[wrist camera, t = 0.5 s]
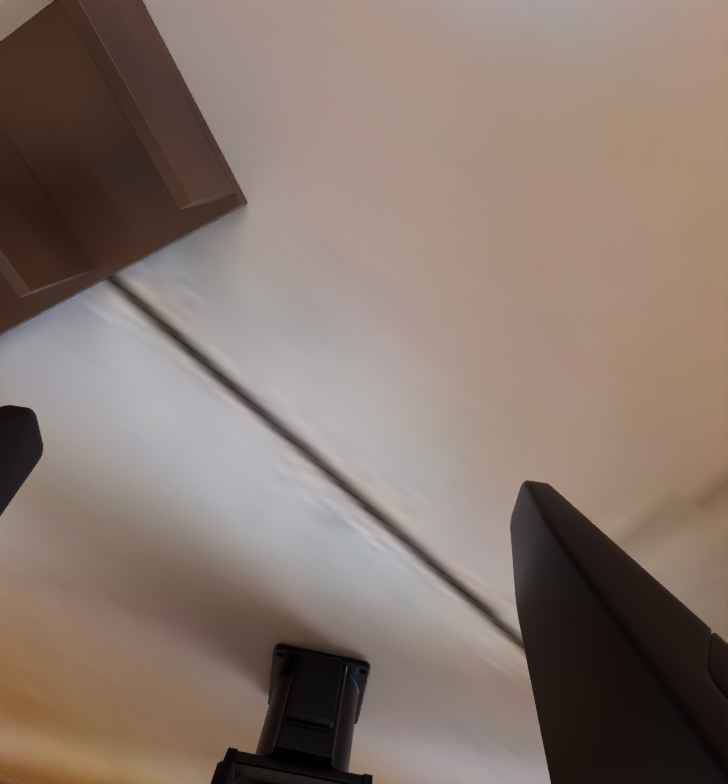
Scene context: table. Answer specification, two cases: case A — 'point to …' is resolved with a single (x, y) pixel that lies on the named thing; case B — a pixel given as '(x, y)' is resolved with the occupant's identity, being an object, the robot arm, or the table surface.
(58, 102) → the rack
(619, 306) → the table surface
